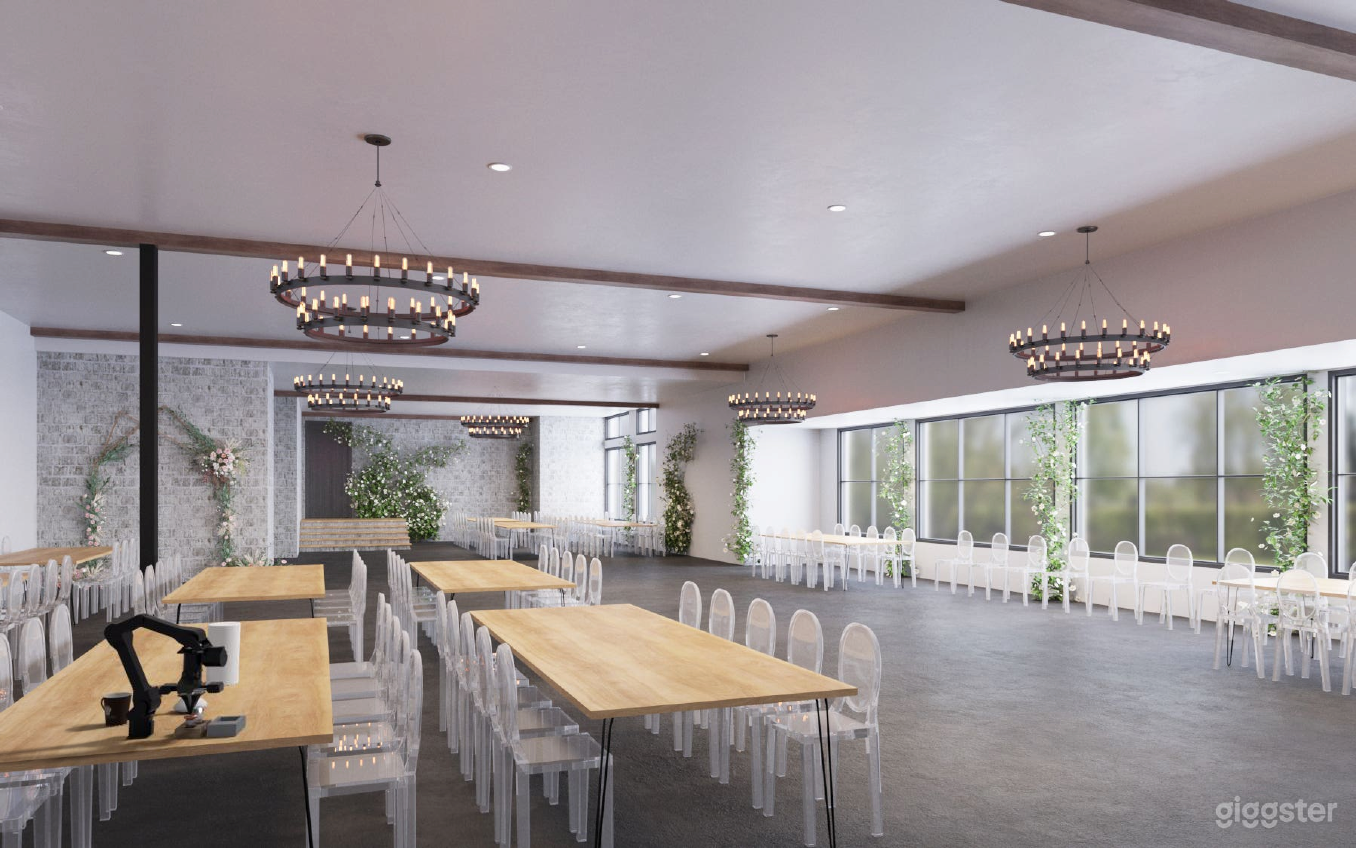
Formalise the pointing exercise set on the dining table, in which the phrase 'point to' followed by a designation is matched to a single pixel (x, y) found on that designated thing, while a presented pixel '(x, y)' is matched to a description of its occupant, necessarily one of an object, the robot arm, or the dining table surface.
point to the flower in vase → (181, 705)
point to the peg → (198, 714)
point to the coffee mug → (116, 708)
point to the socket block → (191, 730)
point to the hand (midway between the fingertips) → (190, 714)
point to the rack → (226, 726)
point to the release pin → (190, 720)
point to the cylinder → (229, 638)
